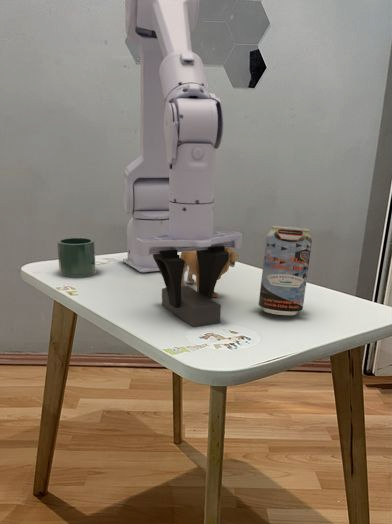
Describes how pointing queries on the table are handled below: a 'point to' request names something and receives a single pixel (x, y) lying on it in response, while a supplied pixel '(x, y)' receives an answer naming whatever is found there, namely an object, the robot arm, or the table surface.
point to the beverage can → (285, 270)
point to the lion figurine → (192, 263)
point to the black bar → (194, 307)
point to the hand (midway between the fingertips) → (189, 303)
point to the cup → (76, 257)
